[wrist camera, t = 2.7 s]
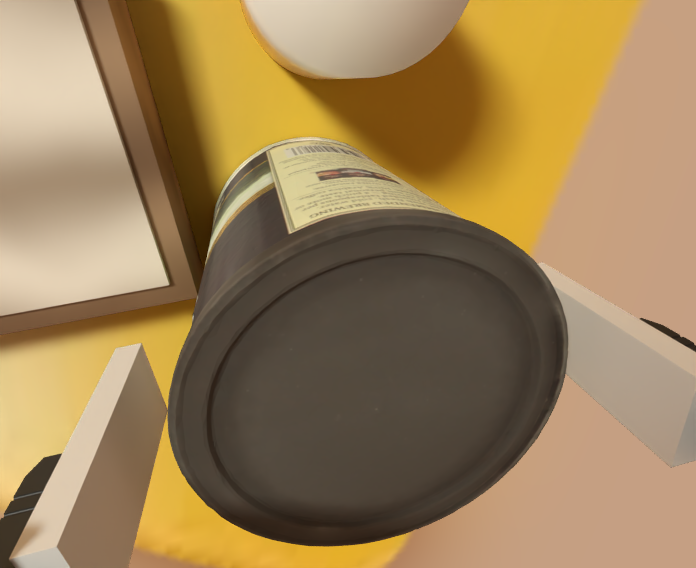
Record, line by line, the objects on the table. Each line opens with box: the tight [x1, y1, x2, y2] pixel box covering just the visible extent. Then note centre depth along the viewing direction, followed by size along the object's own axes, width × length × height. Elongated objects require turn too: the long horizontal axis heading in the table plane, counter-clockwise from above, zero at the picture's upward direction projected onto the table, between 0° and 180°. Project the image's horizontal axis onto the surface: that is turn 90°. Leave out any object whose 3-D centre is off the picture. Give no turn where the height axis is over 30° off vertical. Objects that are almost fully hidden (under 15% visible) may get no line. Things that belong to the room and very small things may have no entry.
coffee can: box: [168, 137, 568, 546], centre depth 17 cm, size 10×10×14 cm
